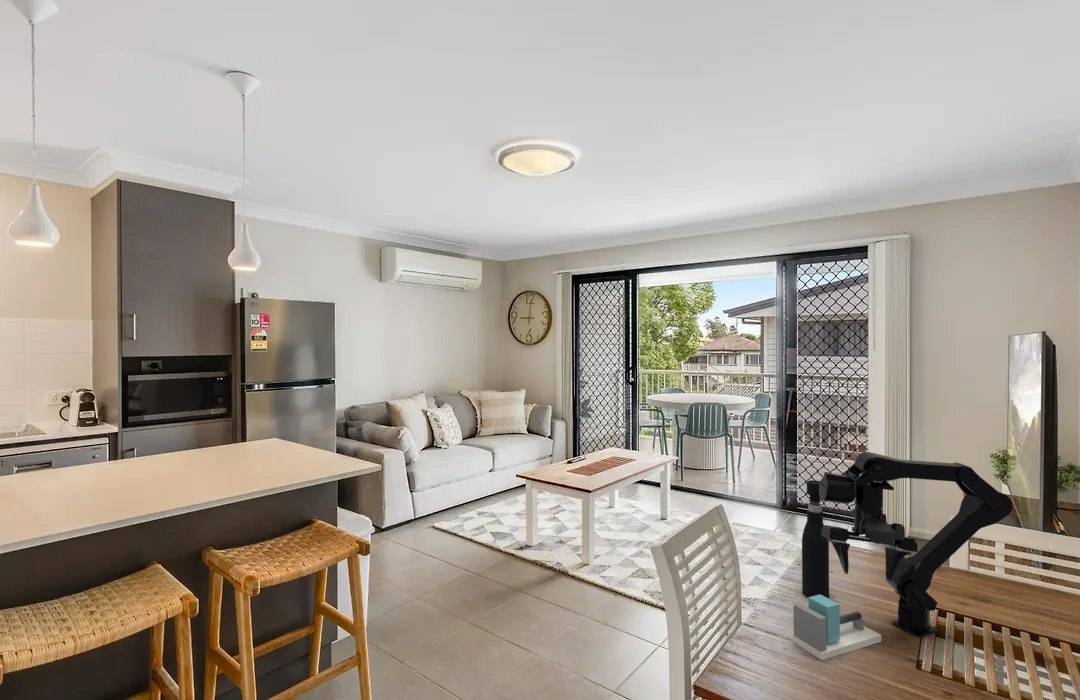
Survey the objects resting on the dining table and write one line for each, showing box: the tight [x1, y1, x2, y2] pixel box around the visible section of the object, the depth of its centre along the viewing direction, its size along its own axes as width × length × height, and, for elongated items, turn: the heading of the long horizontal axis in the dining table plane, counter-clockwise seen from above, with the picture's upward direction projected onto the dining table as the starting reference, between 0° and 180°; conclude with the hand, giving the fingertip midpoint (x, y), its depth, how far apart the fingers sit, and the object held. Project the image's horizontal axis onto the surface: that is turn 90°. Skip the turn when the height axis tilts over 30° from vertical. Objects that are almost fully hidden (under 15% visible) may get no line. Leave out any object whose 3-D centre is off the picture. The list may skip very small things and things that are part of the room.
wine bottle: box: [801, 480, 830, 599], centre depth 143 cm, size 6×6×30 cm
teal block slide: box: [791, 602, 882, 661], centre depth 121 cm, size 18×8×8 cm, turn 112°
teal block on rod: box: [807, 595, 841, 644], centre depth 120 cm, size 4×5×8 cm
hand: (867, 576), depth 125 cm, fingers open, 9 cm apart
